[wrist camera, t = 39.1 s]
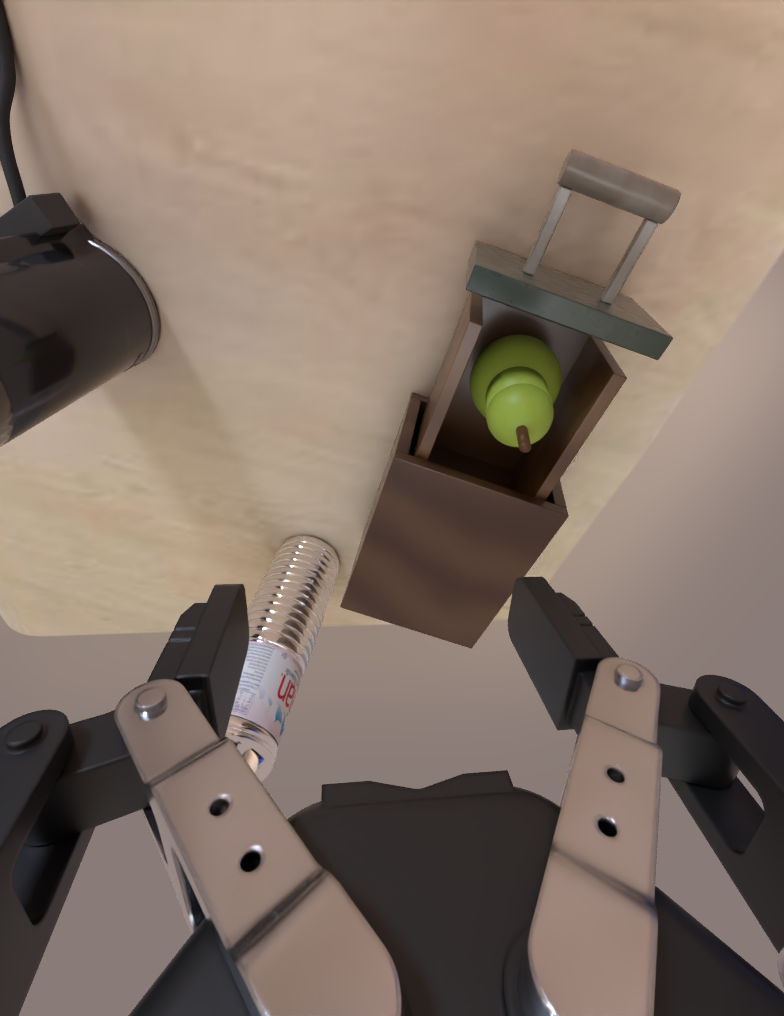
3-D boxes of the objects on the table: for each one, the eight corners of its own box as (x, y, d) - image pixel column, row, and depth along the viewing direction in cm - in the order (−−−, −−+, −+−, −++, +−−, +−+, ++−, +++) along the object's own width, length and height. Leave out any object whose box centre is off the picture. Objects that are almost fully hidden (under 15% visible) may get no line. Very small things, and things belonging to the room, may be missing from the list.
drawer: (515, 132, 25) (526, 125, 18) (690, 201, 25) (758, 216, 19) (405, 436, 37) (390, 492, 31) (524, 477, 38) (533, 539, 31)
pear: (458, 341, 31) (451, 413, 22) (543, 308, 29) (570, 373, 20) (484, 413, 33) (485, 500, 25) (562, 387, 31) (593, 473, 23)
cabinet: (412, 392, 36) (393, 456, 28) (550, 440, 36) (568, 516, 29) (363, 531, 45) (340, 607, 38) (473, 567, 46) (471, 648, 38)
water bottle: (292, 522, 46) (155, 793, 27) (352, 552, 47) (262, 831, 28) (271, 560, 50) (137, 820, 31) (326, 587, 51) (232, 852, 32)
